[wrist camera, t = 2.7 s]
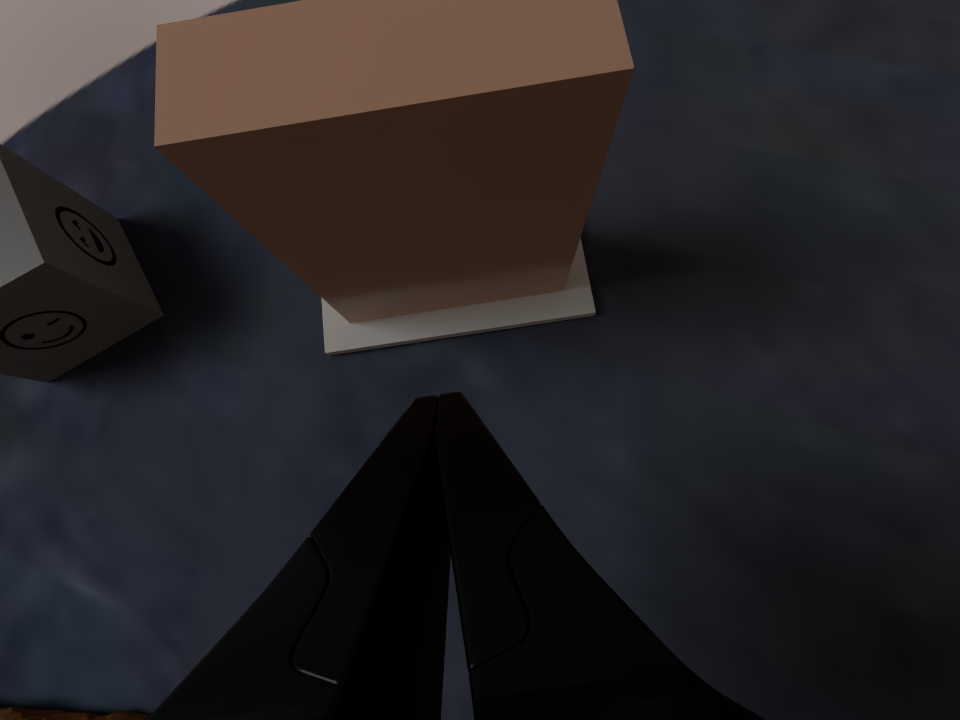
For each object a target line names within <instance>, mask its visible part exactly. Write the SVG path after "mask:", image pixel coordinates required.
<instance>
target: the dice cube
mask: <svg viewBox="0 0 960 720" xmlns="http://www.w3.org/2000/svg"><path fill="white" fill-rule="evenodd" d="M162 316H164V314H163V312H162V310H161V308H160V306H159V304H158V302H157V300H156V298H155V296H154V293H153V291H152V289H151V287H150V285H149V283H148V281H147V279H146V277H145V275H144V273H143V270H142V268H141V266H140V264H139V262H138V260H137V258H136V256H135V254H134V252H133V249H132V247H131V245H130V243H129V241H128V239H127V237H126V235H125V233H124V231H123V229H122V226H121V224H120V222H119V220H118V219H117V218H116V217H114V216H113V215H111V214H109V213H108V212H106V211H105V210H103V209H102V208H100V207H98V206H97V205H95V204H94V203H92V202H91V201H89V200H87V199H86V198H84V197H83V196H81V195H80V194H78V193H76V192H75V191H73V190H72V189H70V188H68V187H67V186H65V185H64V184H62V183H61V182H59V181H57V180H56V179H54V178H53V177H51V176H50V175H48V174H46V173H45V172H43V171H42V170H40V169H39V168H37V167H35V166H34V165H32V164H31V163H29V162H28V161H26V160H24V159H23V158H21V157H20V156H18V155H17V154H15V153H13V152H12V151H10V150H9V149H7V148H5V147H4V146H2V145H1V144H0V374H4V375H10V376H15V377H21V378H26V379H31V380H37V381H42V382H50V381H52V380H53V379H55V378H57V377H59V376H60V375H62V374H64V373H66V372H67V371H69V370H71V369H72V368H74V367H76V366H78V365H79V364H81V363H83V362H84V361H86V360H88V359H90V358H91V357H93V356H95V355H96V354H98V353H100V352H102V351H103V350H105V349H107V348H109V347H110V346H112V345H114V344H115V343H117V342H119V341H121V340H122V339H124V338H126V337H127V336H129V335H131V334H133V333H134V332H136V331H138V330H139V329H141V328H143V327H145V326H146V325H148V324H150V323H152V322H153V321H155V320H157V319H158V318H160V317H162Z"/></svg>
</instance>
